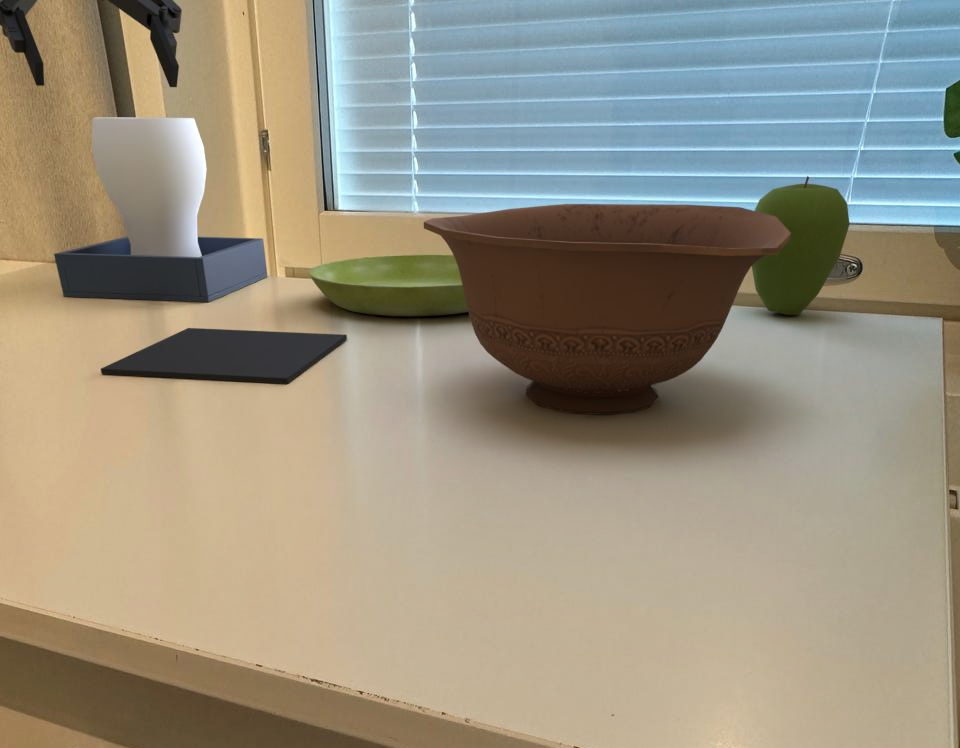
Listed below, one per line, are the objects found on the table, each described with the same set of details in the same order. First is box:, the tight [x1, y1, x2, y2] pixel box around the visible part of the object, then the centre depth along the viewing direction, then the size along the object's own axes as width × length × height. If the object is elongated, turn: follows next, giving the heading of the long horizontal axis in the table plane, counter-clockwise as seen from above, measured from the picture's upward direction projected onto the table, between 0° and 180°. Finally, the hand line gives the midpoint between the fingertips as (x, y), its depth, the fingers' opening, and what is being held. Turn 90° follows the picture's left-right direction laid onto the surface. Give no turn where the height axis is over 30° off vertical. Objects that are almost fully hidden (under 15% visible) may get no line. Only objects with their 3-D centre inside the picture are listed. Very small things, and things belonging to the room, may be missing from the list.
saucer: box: [308, 254, 469, 317], centre depth 86 cm, size 21×21×3 cm
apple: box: [751, 175, 851, 316], centre depth 80 cm, size 9×8×12 cm
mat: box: [100, 327, 348, 385], centre depth 68 cm, size 14×14×1 cm
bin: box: [53, 235, 269, 303], centre depth 94 cm, size 16×16×4 cm
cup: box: [91, 116, 208, 257], centre depth 91 cm, size 11×11×15 cm
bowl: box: [423, 203, 791, 415], centre depth 56 cm, size 22×22×11 cm
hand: (109, 76), depth 92 cm, fingers open, 13 cm apart
